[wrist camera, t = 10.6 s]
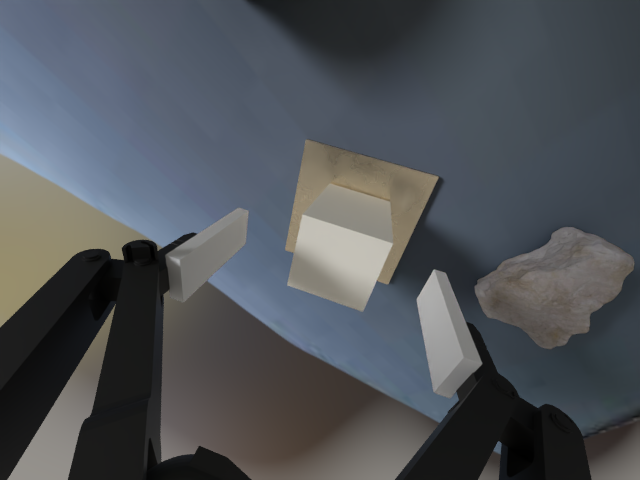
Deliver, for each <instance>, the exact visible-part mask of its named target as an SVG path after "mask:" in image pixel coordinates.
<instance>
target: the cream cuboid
mask: <svg viewBox="0 0 640 480" xmlns="http://www.w3.org/2000/svg"><path fill="white" fill-rule="evenodd" d="M392 245H393V234H392V219H391V205H390V201H386V200H383V199H380V198H376V197H373V196H370V195H366V194H363V193H360V192H357V191H353V190H350V189H347V188H343V187H340V186H337V185H333V184H329V185H328V186H327V187H326V188H325V189H324V191H323V192H322V193H321V194H320V195H319V196H318V197H317V198H316V200H315V201H314V202H313V203H312V204H311V205H310V206H309V208H308V209H307V210H306V211H305V212H304V213H303V214H302V219H301V223H300V228H299V233H298V237H297V242H296V247H295V251H294V256H293V261H292V265H291V270H290V275H289V279H288V284H287V285H288V286H291V287H294V288H297V289H300V290H303V291H305V292H308V293H311V294H314V295H317V296H320V297H322V298H325V299H328V300H331V301H334V302H337V303H339V304H342V305H345V306H348V307H351V308H354V309H356V310H359V311H362V312H363V310H364V308H365V306H366V304H367V301H368V299H369V297H370V295H371V292H372V290H373V288H374V286H375V283H376V281H377V279H378V277H379V274H380V272H381V270H382V268H383V265H384V263H385V261H386V259H387V256H388V254H389V252H390V250H391V247H392Z"/></svg>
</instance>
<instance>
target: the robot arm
mask: <svg viewBox="0 0 640 480" xmlns="http://www.w3.org/2000/svg"><path fill="white" fill-rule="evenodd" d="M247 223H248V211H247V210H244V209H241V208H237V209H236V210H234V211H233V212H231V213H229V214H228V215H226V216H225V217H223V218H222V219H220V220H219V221H217V222H216V223H214V224H212V225H211V226H209V227H208V228H206V229H205V230H203V231H202V232H200V233H198V234H196V233H190V234H186V235H183V236H182V237H180V238H178V239H177V240H175V241H174V242H172V243H171V244H169V245H167V246H165V247H164V248H162V249H160V250H159V251H157V245H156V243H154V242H153V241H149V240H136V241H132V242H129V243H127V244H125V245H124V246H123V247H122V252H123V256H124V260H117V259H111V256H110V253H109V252H108V251H106V250H103V249H89V250H85V251H82V252H79V253H77V254H76V255H74V256H73V257H72V258H71V259H70V260H69V261H68V262H67V263H66V264H65V265H64V266H63V267H62V268H61V269H60V270H59V271H58V272H57V273H56V274H55V275H54V276H53V277H52V278H51V279H50V280H48V281H47V283H46V284H44V285H43V286H42V287H41V288H40V289H39V290H38V291H37V292H36V293H35V294H34V295H33V296H32V297H31V298H30V299H29V300H28V301H27V302H26V303H25V304H24V305H23V306H22V307H21V308H20V309H19V310H18V311H17V312H16V313H15V314H14V315H13V316H12V317H11V318H10V319H9V320H7V322H5V323H4V324H3V325H2V326H1V327H0V480H7V479H8V478H9V476H10V475H11V473H12V471H13V469H14V468H15V466H16V465H17V463H18V461H19V459H20V458H21V457H22V455H23V453H24V452H25V450H26V449H27V447H28V445H29V444H30V442H31V440H32V439H33V437H34V436H35V434H36V432H37V431H38V429H39V427H40V426H41V424H42V423H43V421H44V419H45V418H46V416H47V414H48V413H49V411H50V410H51V408H52V406H53V405H54V403H55V401H56V400H57V398H58V397H59V395H60V393H61V392H62V390H63V388H64V387H65V385H66V384H67V382H68V380H69V379H70V377H71V375H72V374H73V372H74V371H75V369H76V367H77V366H78V364H79V363H80V361H81V359H82V358H83V356H84V354H85V353H86V351H87V350H88V348H89V346H90V345H91V343H92V341H93V340H94V338H95V337H96V335H97V333H98V332H99V330H100V328H101V327H102V325H103V324H104V322H105V320H106V319H107V317H108V315H109V314H110V312H111V310H112V309H113V307H114V306H115V304H116V306H115V310H114V315H113V320H112V324H111V328H110V333H109V338H108V342H107V346H106V351H105V356H104V360H103V365H102V369H101V374H100V379H99V383H98V387H97V392H96V397H95V401H94V405H93V410H92V413H91V415H90V417H88V418H87V419H85V420H84V422H83V424H82V426H81V430H80V433H79V436H78V441H77V445H76V448H75V453H74V457H73V461H72V465H71V469H70V473H69V477H68V480H251V479H250V478H249V477H248V476H247V475H246V474H245V473H244V472H242V471H241V470H240V469H239V468H238V467H237V466H236V465H235V464H234V463H233V462H232V461H231V460H229V459H228V458H227V457H225V456H222V455H220V454H218V453H215V452H213V451H211V450H208V449H206V448H203V447H201V446H199V447H198V449H197V451H196V453H195V454H189V455H181V456H177V457H173V458H171V459H168V460H166V461H163V462H161V441H160V425H161V386H162V347H163V346H162V345H163V309H164V308H163V307H164V305H163V304H164V297H163V294H164V293H166V292H167V291H168V290H169V292H170V298H172V299H175V300H178V301H180V302H184V301H185V300H187V299H188V298H189V297H190V296H191V295H192V294H193V293H194V292H195V291H196V290H197V289H198V288H199V287H200V286H201V285H203V283H205V282H206V281H207V280H208V279H209V278H210V277H211V276H212V275H213V274H214V273H215V272H216V271H217V270H218V269H219V268H221V267H222V266H223V265H224V264H225V263H226V262H227V261H228V260H229V259H230V258H231V257H232V256H233V255H234V254H235V253H236V252H237V251H239V250H240V249H241V248H242V247H243V246H244V245H245V244H246V234H247ZM417 305H418V311H419V316H420V321H421V327H422V332H423V337H424V343H425V348H426V353H427V359H428V364H429V369H430V375H431V380H432V386H433V391H434V393H436V394H439V395H442V396H445V397H447V398H451V397H452V396H453V395H454V394H455V393H456V392H457V395H458V398H459V401H458V402H457V403H456V404H455V405H454V406H453V407H452V408H451V409H450V410H449V411H448V414H447V415H446V416H445V418H444V419H443V420H442V421H441V423H440V424H439V425H438V427H437V428H436V429H435V430H434V431H433V433H432V434H431V435H430V436H429V438H428V439H427V440H426V441H425V443H424V444H423V445H422V447H421V448H420V449H419V450H418V451H417V453H416V454H415V455H414V456H413V458H412V459H411V460H410V461H409V463H408V464H407V465H406V466H405V468H404V469H403V470H402V472H401V473H400V474H399V475H398V476H397V478H396V479H395V480H478V478H479V476H480V474H481V473H482V471H483V469H484V467H485V465H486V463H487V461H488V459H489V457H490V455H491V453H492V452H493V450H494V448H495V446H496V444H497V442H498V441H500V442H501V443H502V446H501V459H500V473H499V480H591V475H590V470H589V465H588V460H587V455H586V450H585V446H584V440H583V436H582V434H581V431H580V430H579V428H578V427H577V425H576V424H575V423H574V422H573V420H572V419H570V417H569V416H568V415H566V414H565V413H564V412H562V411H561V410H560V409H558V408H556V407H554V406H553V405H549V404H544V405H542V406H541V407H539V408H537V407H535V406H533V405H532V404H530V403H528V402H527V401H525V400H523V399H522V398H520V397H519V395H518V393H517V391H516V389H515V388H514V386H513V385H512V384H511V383H510V382H509V381H508V380H507V379H506V378H504V377H503V376H501V375H500V374H498V372H497V370H496V367H495V365H494V363H493V361H492V358H491V356H490V354H489V352H488V350H487V347H486V345H485V343H484V341H483V338H482V336H481V334H480V332H479V331H478V330H477V329H476V327H475V326H474V325H473V324H471V323H468V322H465V319H464V317H463V314H462V312H461V309H460V307H459V304H458V302H457V300H456V297H455V295H454V292H453V290H452V287H451V285H450V282H449V280H448V277H447V275H446V273H444V272H441V271H438V270H435V269H434V270H433V272H432V274H431V275H430V277H429V279H428V281H427V282H426V284H425V286H424V288H423V289H422V291H421V293H420V294H419V296H418V298H417Z"/></svg>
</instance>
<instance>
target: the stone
mask: <svg viewBox="0 0 640 480" xmlns="http://www.w3.org/2000/svg"><path fill="white" fill-rule="evenodd" d="M634 263H635V262H634V260H633V257H632V256H631V255H630V254H628V253H626V252H624V251H623V250H622V249H621V248H620V247H617V246H615V245H613V244H611V243H609V242H607V241H606V240H605V239H603V238H600V237H599V236H597V235H593V234H589V233H584V232H583V231H581V230H579V229H576V228H574V227H563V228H561V229H559V230H557V231H555V232H553V233H552V235H551V239H550V241H549V242H548V243H547V244H546V245H544V246H543V247H541V248H539V249H535V250H534V251H532V252H530V253H526V254H521V255H519V256H516V257H514V258H510V259H507V260H505V261H503V262H502V263H501V264H500V265H499V266H498V268H497V269H496V271H493V272H491V273H490V274H488V275H486V276H485V277H484V278H480V279H478V280H477V282H478V283H477V285H476V286H475V294H476V296H477V298H478V300H479V304H480V306H481V308H482V310H483V312H484V313H485V315H486V316H487V317H488V318H494V319H498V320H500V321H502V322H504V323H508V324H511V325H514V326H518V327H520V328H521V329H522V330H524V331H525V332H526V333H527V334H528V335H529V337H530V338H531V339H532V340H533V341H534V342H535V343H536V344H537V345H538V346H540V347H542V348H546V349H552V348H553V347H555V346H563V345H566V343H567V342H568V339H569V338H570V337H571V336H572V335H574V334H579V333H587V332H588V331H589V326H590V315H591V313H592V312H594V311H597V310H598V309H600V308H601V307H602V306H603V305H604V304H606V303H608V302H610V301H612V300H613V299H614V298H615V297H616V296H617V295H618V294H619V293H620V291H621V289H622V284H623V281H624V279H625V277H626V276H627V275H628V274H629V273H631V272H632V271H633V270H634Z"/></svg>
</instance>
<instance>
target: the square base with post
mask: <svg viewBox="0 0 640 480" xmlns="http://www.w3.org/2000/svg"><path fill="white" fill-rule="evenodd" d="M438 178H439V177H438V176H437V175H433V174H430V173H426V172H423V171H419V170H416V169H412V168H409V167H405V166H401V165H398V164H394V163H391V162H387V161H384V160H380V159H377V158H373V157H370V156H366V155H363V154H359V153H355V152H352V151H348V150H345V149H341V148H338V147H334V146H331V145H327V144H324V143H320V142H317V141H313V140H309V139H306V142H305V148H304V153H303V158H302V164H301V169H300V174H299V179H298V185H297V190H296V195H295V201H294V206H293V211H292V217H291V222H290V227H289V232H288V238H287V243H286V248H285V250H286V251H289V252H292V253H294V251H295V247H296V242H297V237H298V233H299V228H300V223H301V219H302V214H303V213H304V212H305V211H306V210H307V209H308V208H309V206H310V205H311V204H312V203H313V202H314V201H315V200H316V198H317V197H318V196H319V195H320V194H321V193H322V192H323V191H324V189H325V188H326V187H327V186H328V185H329V184H333V185H337V186H340V187H343V188H347V189H350V190H353V191H357V192H360V193H363V194H366V195H370V196H373V197H376V198H380V199H383V200H386V201H390V205H391V219H392V234H393V245H392V247H391V250H390V252H389V254H388V256H387V259H386V261H385V263H384V265H383V268H382V270H381V272H380V274H379V277H378V279H377V281H379V282H382V283H385V284H389V281H390V279H391V277H392V275H393V273H394V271H395V269H396V267H397V265H398V262H399V260H400V258H401V256H402V254H403V252H404V250H405V248H406V246H407V243H408V241H409V239H410V237H411V235H412V233H413V231H414V229H415V226H416V224H417V222H418V220H419V218H420V216H421V214H422V212H423V210H424V207H425V205H426V203H427V201H428V199H429V197H430V195H431V193H432V190H433V188H434V186H435V184H436V182H437V180H438Z"/></svg>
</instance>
